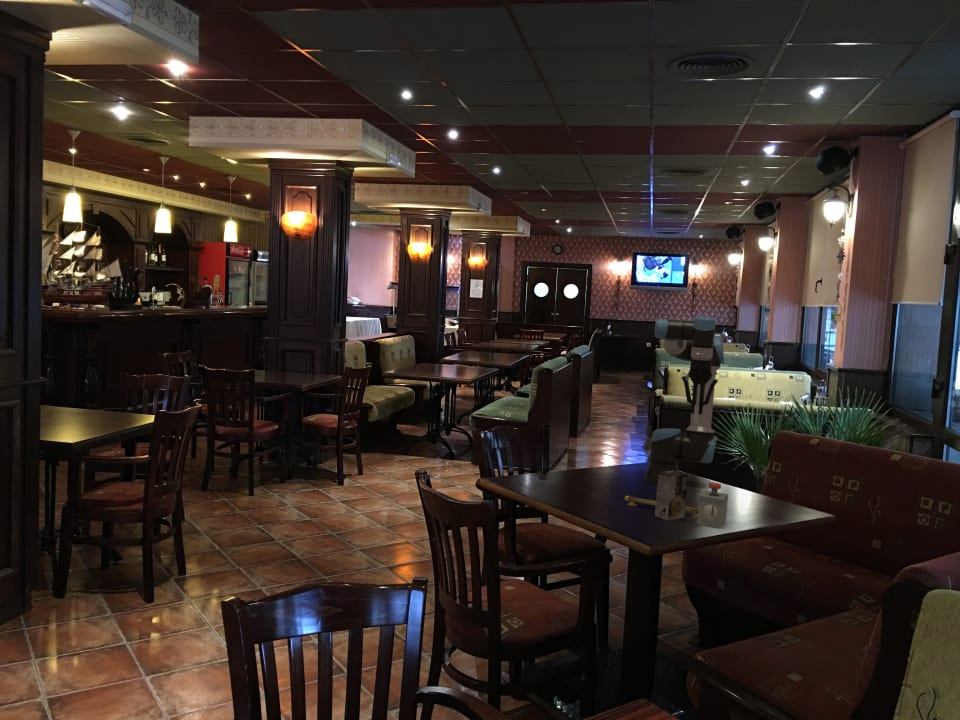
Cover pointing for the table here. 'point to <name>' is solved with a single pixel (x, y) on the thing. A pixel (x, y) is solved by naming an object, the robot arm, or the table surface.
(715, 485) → the plunger
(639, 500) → the rail
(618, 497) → the table surface
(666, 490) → the coffee box
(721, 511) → the cabinet
